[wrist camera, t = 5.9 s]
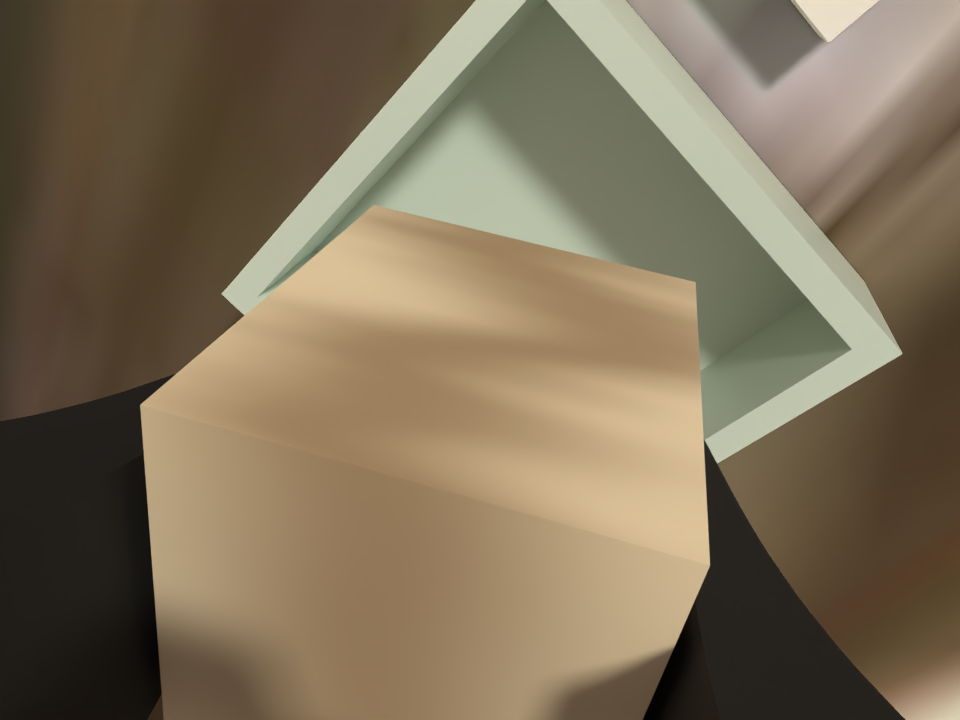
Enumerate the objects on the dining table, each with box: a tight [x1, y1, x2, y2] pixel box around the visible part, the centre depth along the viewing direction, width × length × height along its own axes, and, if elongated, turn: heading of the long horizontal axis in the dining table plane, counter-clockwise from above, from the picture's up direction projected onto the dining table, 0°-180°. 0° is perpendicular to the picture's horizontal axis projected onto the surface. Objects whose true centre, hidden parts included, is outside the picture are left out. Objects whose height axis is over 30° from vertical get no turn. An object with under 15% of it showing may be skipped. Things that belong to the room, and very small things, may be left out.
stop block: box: [140, 205, 710, 720], centre depth 10 cm, size 5×5×6 cm
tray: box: [222, 0, 903, 463], centre depth 17 cm, size 10×10×4 cm
